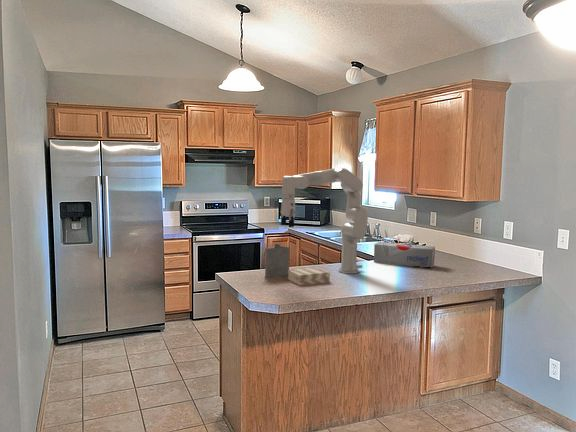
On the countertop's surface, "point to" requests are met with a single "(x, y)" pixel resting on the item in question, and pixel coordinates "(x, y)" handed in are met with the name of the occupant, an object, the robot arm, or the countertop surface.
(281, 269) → the hip flask
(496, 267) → the countertop surface
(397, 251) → the soda pack
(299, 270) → the chevron striped box
